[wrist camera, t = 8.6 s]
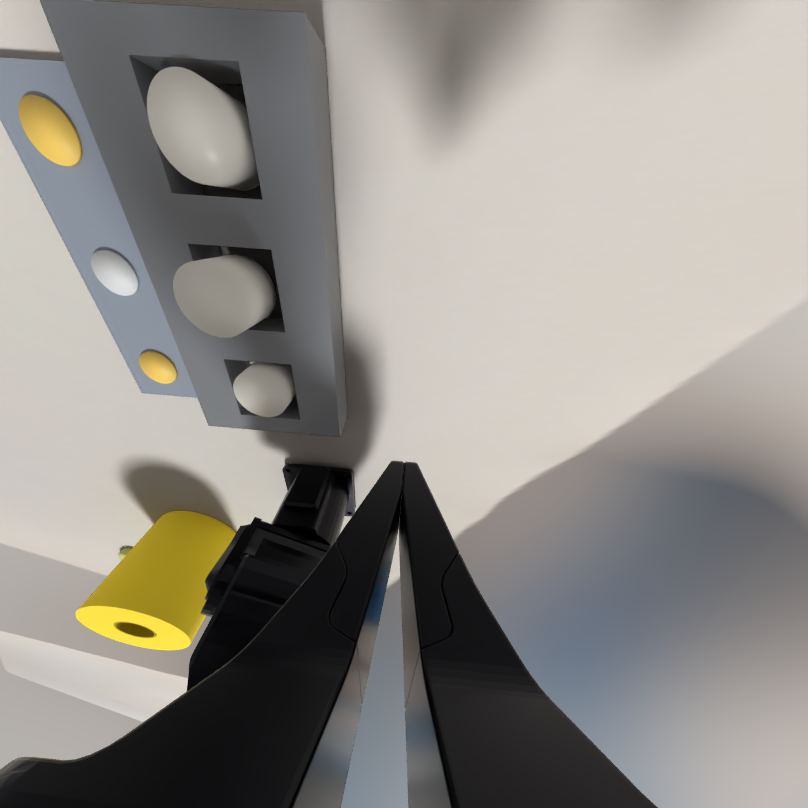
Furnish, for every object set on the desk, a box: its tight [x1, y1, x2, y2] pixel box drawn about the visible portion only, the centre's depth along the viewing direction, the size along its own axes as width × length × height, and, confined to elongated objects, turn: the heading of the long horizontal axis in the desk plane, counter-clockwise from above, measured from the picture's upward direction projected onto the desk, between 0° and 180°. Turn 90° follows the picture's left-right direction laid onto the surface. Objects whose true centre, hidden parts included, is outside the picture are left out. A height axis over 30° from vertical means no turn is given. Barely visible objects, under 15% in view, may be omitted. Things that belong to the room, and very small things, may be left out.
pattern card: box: [0, 57, 197, 398], centre depth 18 cm, size 18×5×1 cm, turn 176°
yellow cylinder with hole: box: [76, 511, 236, 650], centre depth 31 cm, size 10×10×9 cm
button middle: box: [173, 254, 276, 338], centre depth 15 cm, size 4×4×3 cm
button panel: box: [40, 0, 348, 437], centre depth 17 cm, size 20×10×2 cm, turn 176°
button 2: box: [233, 362, 296, 417], centre depth 20 cm, size 4×4×3 cm
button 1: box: [147, 67, 260, 190], centre depth 13 cm, size 4×4×3 cm
